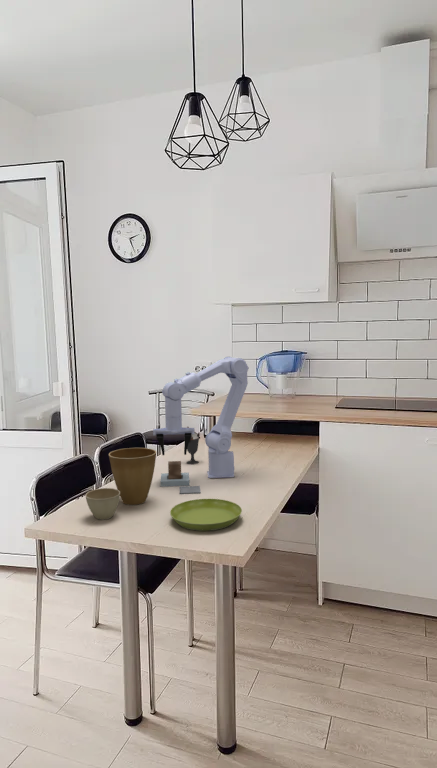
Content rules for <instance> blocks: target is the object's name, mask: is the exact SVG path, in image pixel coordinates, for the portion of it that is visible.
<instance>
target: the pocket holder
mask: <svg viewBox="0 0 437 768" xmlns="http://www.w3.org/2000/svg"><path fill="white" fill-rule="evenodd" d="M189 473H190V472H181V479H169V477H168V472H166V473H165V472H164V473H160V487H181V486H190V474H189Z"/></svg>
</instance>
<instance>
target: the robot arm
mask: <svg viewBox="0 0 437 768" xmlns="http://www.w3.org/2000/svg"><path fill="white" fill-rule="evenodd" d="M248 371H249V366H248V363H247V362H246V360H245V359H244V358H241V357H233V356H225V357H224V358H221V359H218V360H217V361H216V362H214V363H212V364H210V365H208V366H207V367H205V368H203V369H201V370H200V371H198V372H194V371H192V372H189V371H187V372H185V375H183V376H181V377H180V378H175V379H173V380H174V382H172V381H168V382H166V383H165V384H164V386H163V389H161V393H162V395H163V396H164V409H165V411H164V412H165V415H164V417H165V419H164V420H165V427H161V428H153V429H152V435H153V436H155V438H156V440H157V442H158V444H159V447H160V450H161V455H162V456H165V453H166V452H165V442H164V441H165V439H164V435H165V436H166V435H167V436H168V435H184V437H183V440H184V439H185V440H184V446H183V447H184V452H183V454H184V456H186V455H187V452H188V451H187V447H188V444H189V441H190V439H191V437H192V435H191V434H195V432H196V431H195V427H188V428H187V427H183V423H182V421H183V417H182V398H183V397H184V395H186V394H188V393H189V392H192V391H194V390H195V389H197V388H199V387H200V385H201V384H202V383H201V382H203V381H206V380H207V379H209V378H211V377H214V376H216V375H218V374H225V375H226V377H228V379H229V381H230V383H231V386H230V389H229V391H228V394H227V396H226V399H225V402H224V405H223V407H222V408H221V409H222V410H221V412H220V414H219V417H218V420H217V422H216V424H215V425H213V426H212V427H211V429H210V431H209V432H208V434H207V435H206V436H205V438H204V439H205V440H204V442H205V445H206V446H207V447H208V449H207V451H208V458H207V459H208V470H207V471H206V473H207V478H208V479H216V478H217V479H220V478H224V479H225V478H235V455H234V451H232V450H231V451H230V449H231V446H232V437H233V432H232V429H231V428H232V427H233V424H234V421H235V418H236V415H237V414H238V411H239V407H240V405H241V403H242V400H243V397H244V395H245V392H246V390H247V386H248V383H249V382H248V381H249V380H248Z"/></svg>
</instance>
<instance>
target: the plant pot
mask: <svg viewBox="0 0 437 768" xmlns="http://www.w3.org/2000/svg"><path fill="white" fill-rule="evenodd" d="M108 458H109V463H110V468H111V473H112V476H113V479H114V483H115V486H116V489H117V490H119V491H120V499H121V502H122V503H123V504H124V505H128V506H136V505H141V504H145V502H146V501H147V500H148V496H149V493H150V489H151V486H152V483H153V477H154V472H155V466H156V460H157V459H156V458H157V450H155V449H152V448H148V447H129V448H128V447H127V448H119V449H116V450H112V451H110V452H109V453H108Z"/></svg>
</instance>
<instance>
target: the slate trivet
mask: <svg viewBox="0 0 437 768" xmlns="http://www.w3.org/2000/svg"><path fill="white" fill-rule="evenodd" d="M178 487H179V490H178V491H179V495H189V494H190V495H191V494H192V495H193V494H201V492H202V491H201V486H200V485H189V486H178Z"/></svg>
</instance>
